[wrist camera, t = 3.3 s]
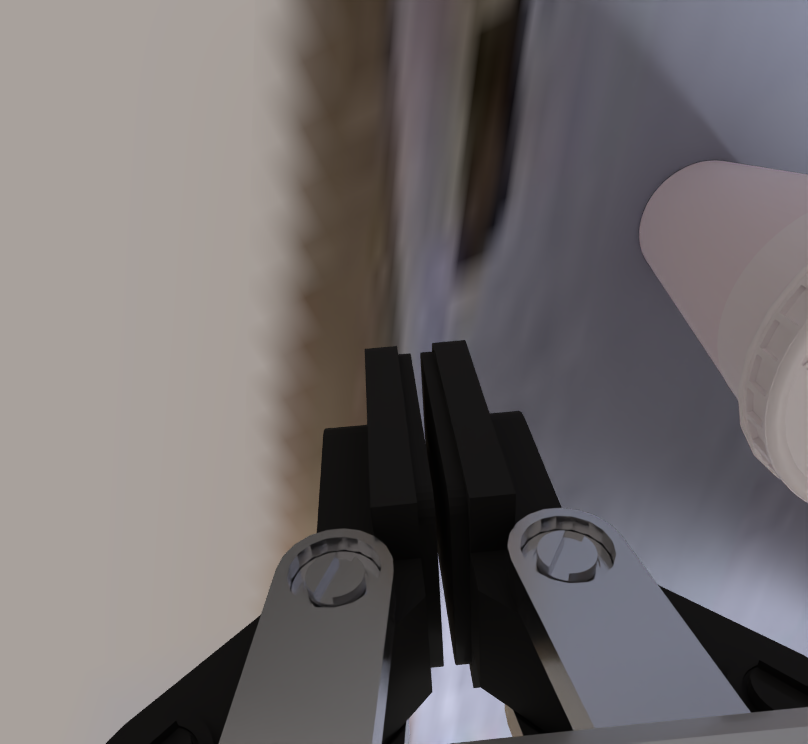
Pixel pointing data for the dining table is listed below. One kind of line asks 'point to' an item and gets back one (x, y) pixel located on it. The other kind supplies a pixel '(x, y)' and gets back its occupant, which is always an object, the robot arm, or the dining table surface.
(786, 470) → the smoothie
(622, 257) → the dining table surface
